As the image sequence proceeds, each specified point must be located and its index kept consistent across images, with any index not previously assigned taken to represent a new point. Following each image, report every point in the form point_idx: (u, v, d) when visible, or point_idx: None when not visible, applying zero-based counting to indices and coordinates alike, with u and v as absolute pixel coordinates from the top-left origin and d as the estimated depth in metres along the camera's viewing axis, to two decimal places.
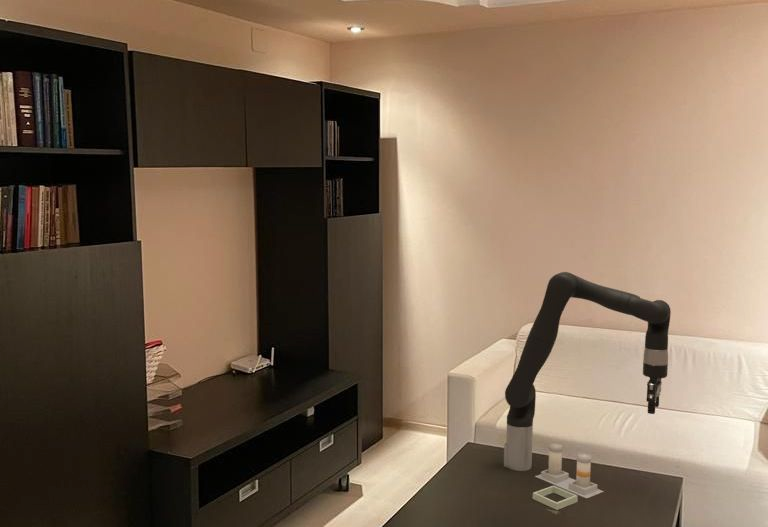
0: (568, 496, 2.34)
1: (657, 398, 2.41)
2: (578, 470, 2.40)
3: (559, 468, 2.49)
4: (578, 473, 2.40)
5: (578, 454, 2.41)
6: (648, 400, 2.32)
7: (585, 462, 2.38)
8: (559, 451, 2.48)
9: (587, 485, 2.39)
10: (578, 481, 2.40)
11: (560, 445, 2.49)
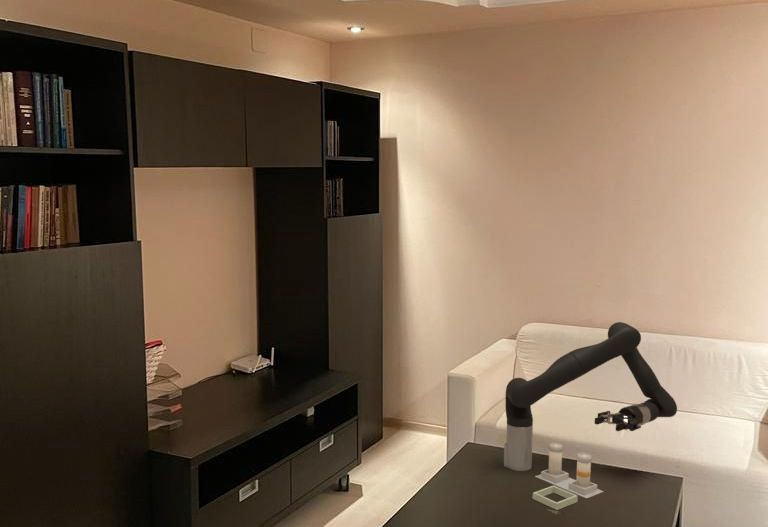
0: (568, 496, 2.34)
1: (601, 421, 2.51)
2: (578, 470, 2.40)
3: (559, 468, 2.49)
4: (578, 473, 2.40)
5: (578, 454, 2.41)
6: (632, 425, 2.43)
7: (585, 462, 2.38)
8: (559, 451, 2.48)
9: (587, 485, 2.39)
10: (578, 481, 2.40)
11: (560, 445, 2.49)
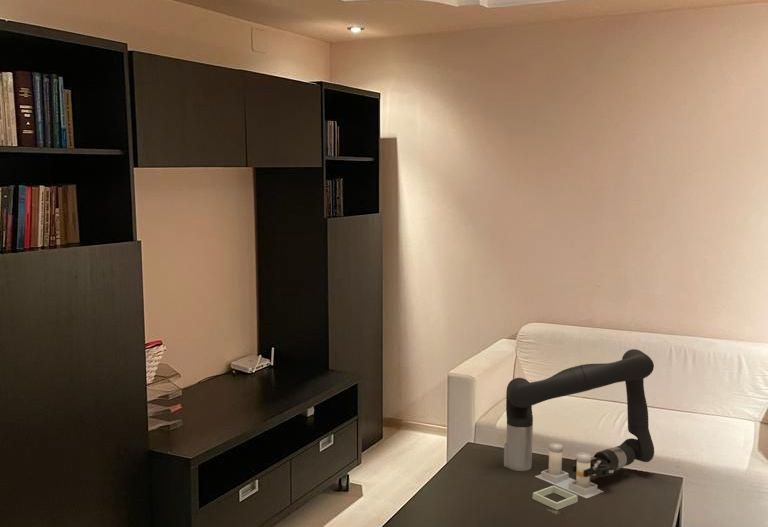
0: (568, 496, 2.34)
1: None
2: (578, 470, 2.40)
3: (559, 468, 2.49)
4: (578, 473, 2.40)
5: (578, 454, 2.41)
6: (600, 471, 2.38)
7: (585, 462, 2.38)
8: (559, 451, 2.48)
9: (587, 485, 2.39)
10: (578, 481, 2.40)
11: (560, 445, 2.49)
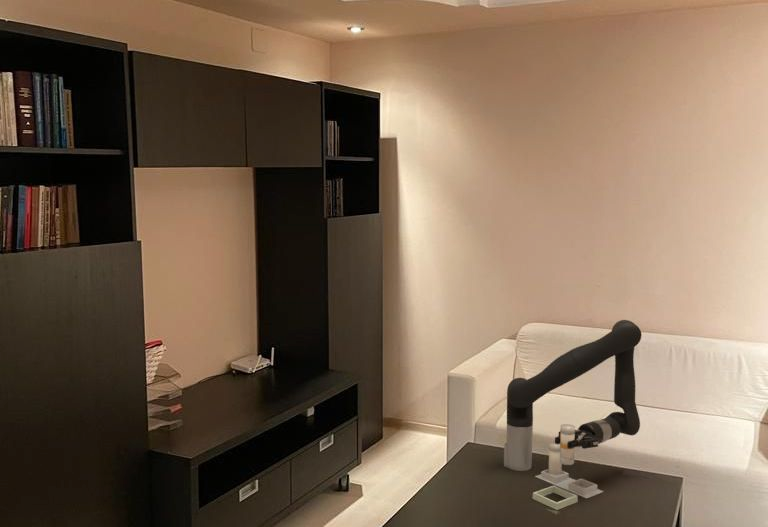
0: (568, 496, 2.34)
1: None
2: (562, 442, 2.33)
3: (559, 468, 2.49)
4: (562, 445, 2.33)
5: (562, 426, 2.34)
6: (585, 442, 2.32)
7: (569, 433, 2.32)
8: (559, 451, 2.48)
9: (571, 457, 2.33)
10: (562, 453, 2.34)
11: None
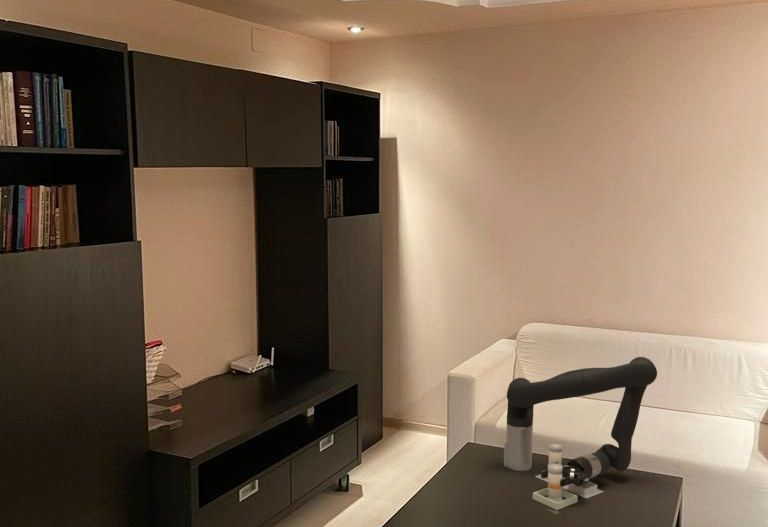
0: (568, 496, 2.34)
1: None
2: (549, 482, 2.32)
3: None
4: (549, 485, 2.32)
5: (549, 465, 2.33)
6: (578, 480, 2.29)
7: (556, 473, 2.30)
8: (558, 451, 2.48)
9: (559, 497, 2.31)
10: (550, 493, 2.32)
11: (560, 445, 2.49)
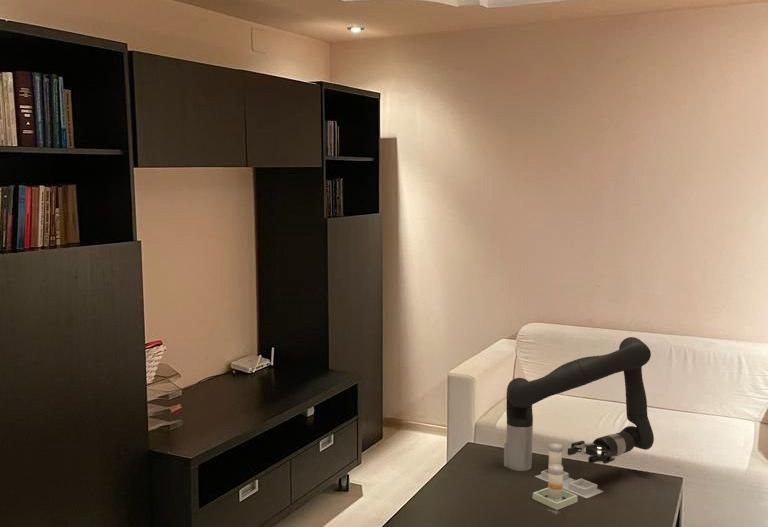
0: (568, 496, 2.34)
1: (574, 452, 2.44)
2: (550, 482, 2.32)
3: None
4: (550, 485, 2.32)
5: (550, 465, 2.33)
6: (605, 457, 2.36)
7: (557, 474, 2.30)
8: (559, 451, 2.48)
9: (559, 497, 2.31)
10: (550, 493, 2.32)
11: (560, 445, 2.49)
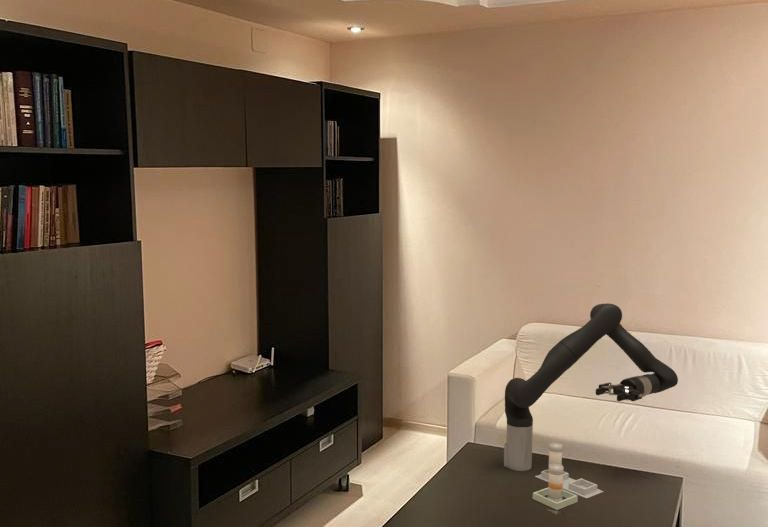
0: (568, 496, 2.34)
1: (602, 392, 2.50)
2: (550, 482, 2.32)
3: None
4: (550, 485, 2.32)
5: (550, 465, 2.33)
6: (633, 395, 2.42)
7: (557, 474, 2.30)
8: (559, 451, 2.48)
9: (559, 497, 2.31)
10: (550, 493, 2.32)
11: (560, 445, 2.49)
